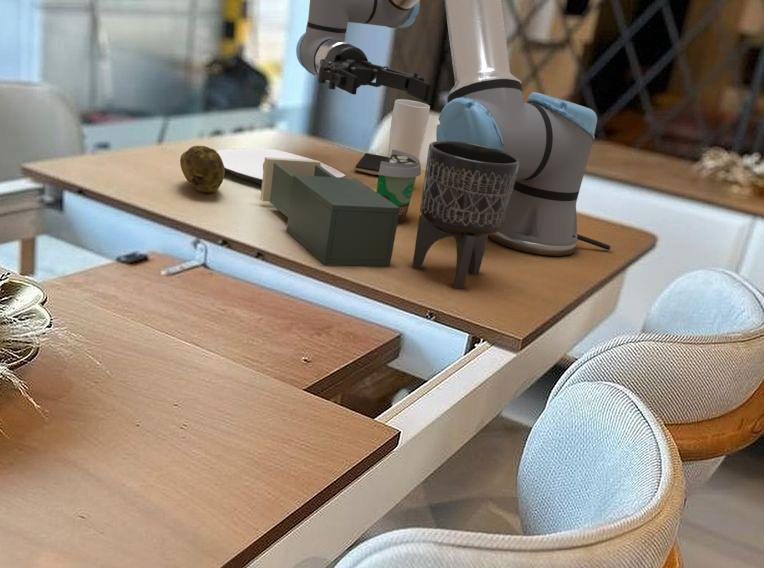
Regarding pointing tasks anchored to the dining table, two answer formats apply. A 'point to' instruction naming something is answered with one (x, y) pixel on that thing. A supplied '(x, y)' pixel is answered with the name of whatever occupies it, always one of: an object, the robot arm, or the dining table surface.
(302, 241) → the cabinet
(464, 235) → the planter
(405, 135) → the drinking glass
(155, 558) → the dining table surface
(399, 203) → the food container
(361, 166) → the smartphone
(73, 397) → the dining table surface
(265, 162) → the drawer
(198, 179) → the potato
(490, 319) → the dining table surface
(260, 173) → the plate
